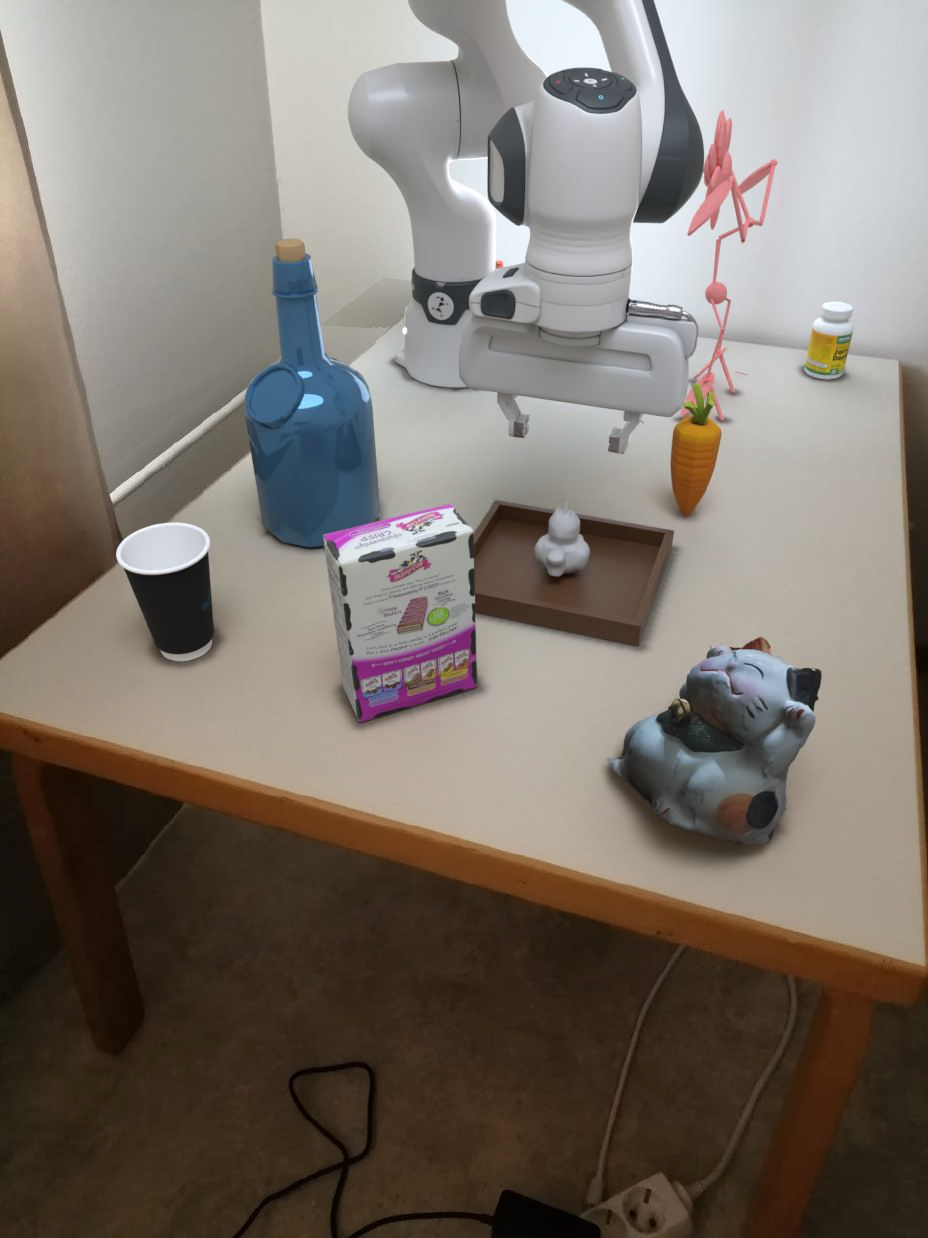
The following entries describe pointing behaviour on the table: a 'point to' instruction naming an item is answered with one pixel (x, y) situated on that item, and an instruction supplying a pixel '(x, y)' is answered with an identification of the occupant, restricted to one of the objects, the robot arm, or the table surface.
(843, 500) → the table surface
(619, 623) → the serving tray
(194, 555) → the dixie cup
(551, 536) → the rubber duck
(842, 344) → the supplement bottle
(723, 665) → the lucky cat figurine
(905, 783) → the table surface
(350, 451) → the wine bottle
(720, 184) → the figurine
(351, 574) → the candy bar box
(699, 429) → the carrot
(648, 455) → the table surface
